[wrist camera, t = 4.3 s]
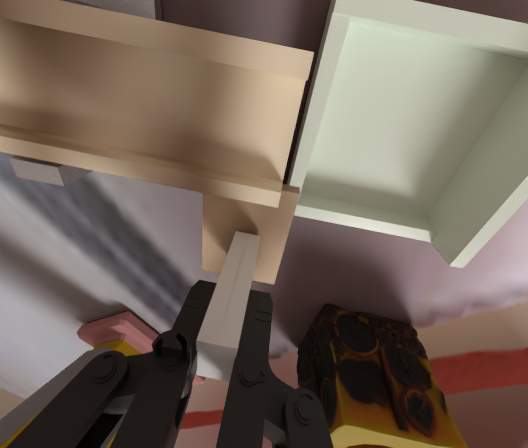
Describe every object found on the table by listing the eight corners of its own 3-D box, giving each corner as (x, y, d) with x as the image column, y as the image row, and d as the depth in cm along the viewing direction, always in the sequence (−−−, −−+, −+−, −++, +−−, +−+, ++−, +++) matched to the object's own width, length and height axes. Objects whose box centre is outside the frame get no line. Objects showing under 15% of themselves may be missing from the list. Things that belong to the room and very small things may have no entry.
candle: (324, 300, 24) (341, 422, 16) (416, 323, 25) (478, 452, 16) (294, 349, 30) (295, 456, 22) (369, 366, 30) (397, 477, 22)
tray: (284, 193, 18) (281, 232, 14) (330, 1, 12) (351, -35, 7) (423, 221, 18) (462, 268, 14) (543, 44, 12) (679, 33, 8)
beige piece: (-53, 198, 17) (-137, 230, 14) (-229, -54, 10) (-486, -113, 7) (276, 264, 17) (271, 312, 14) (331, 60, 10) (349, 57, 7)
